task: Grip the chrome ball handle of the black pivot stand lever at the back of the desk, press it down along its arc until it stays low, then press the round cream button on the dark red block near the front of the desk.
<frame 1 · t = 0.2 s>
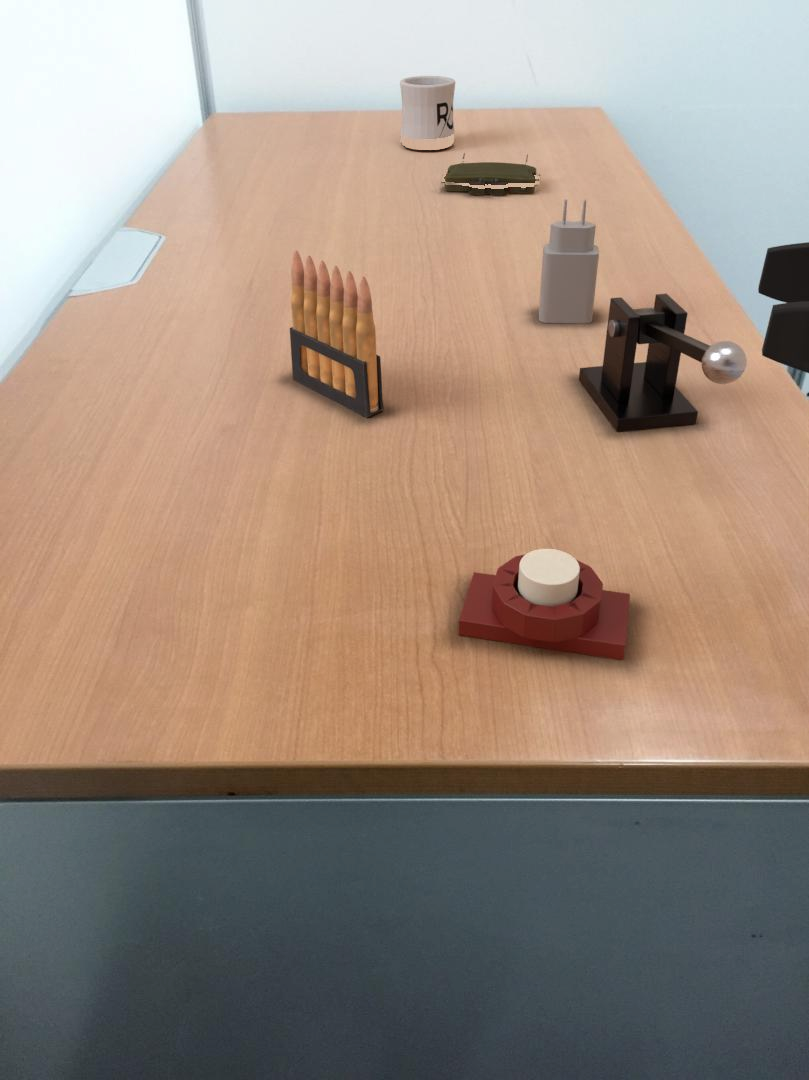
hand: (764, 298, 43), 23 cm above the table, tool horizontal, fingers open, 7 cm apart
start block: (544, 621, 60), on the table
landmine: (492, 183, 141), on the table
lever: (681, 342, 73), point 8 cm above the table, hinge at 12.0°
ammunition clip: (336, 396, 86), on the table
power adapter: (564, 319, 99), on the table
button: (548, 577, 58), point 3 cm above the table, slide at 0.1 cm
mug: (432, 145, 160), on the table
black pivot stand: (634, 401, 84), on the table
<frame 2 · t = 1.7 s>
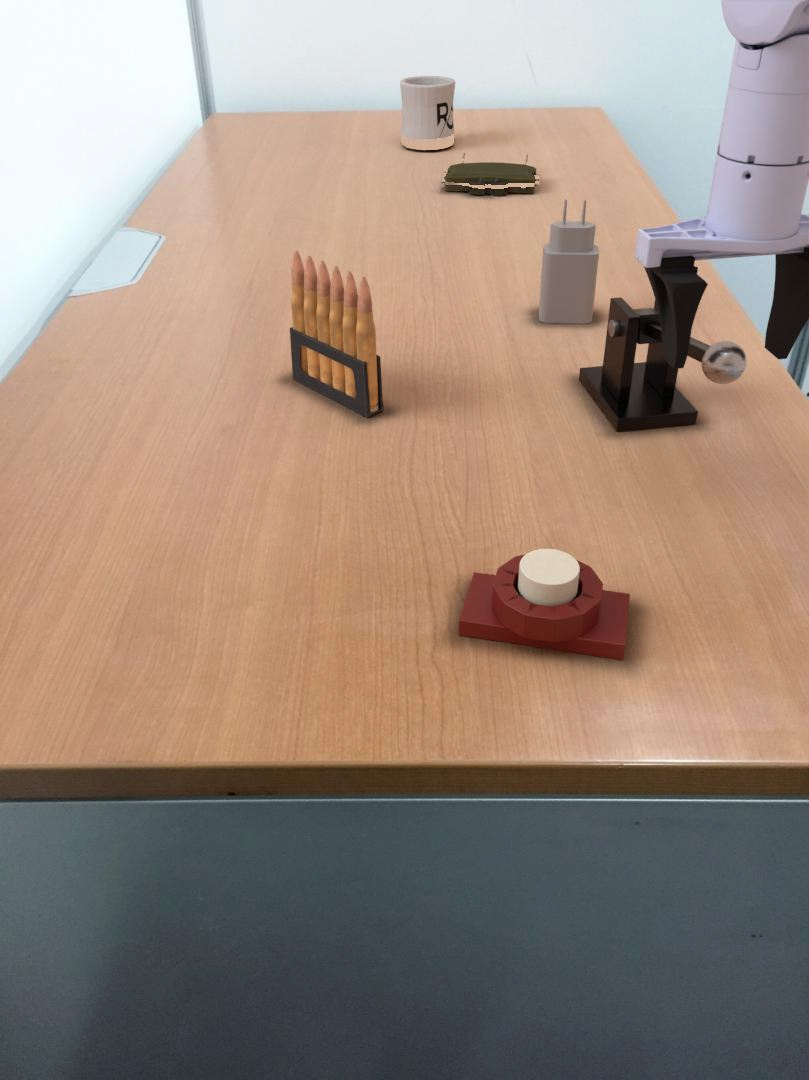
hand: (724, 357, 67), 10 cm above the table, tool pointing down, fingers open, 7 cm apart
nothing on the table moved.
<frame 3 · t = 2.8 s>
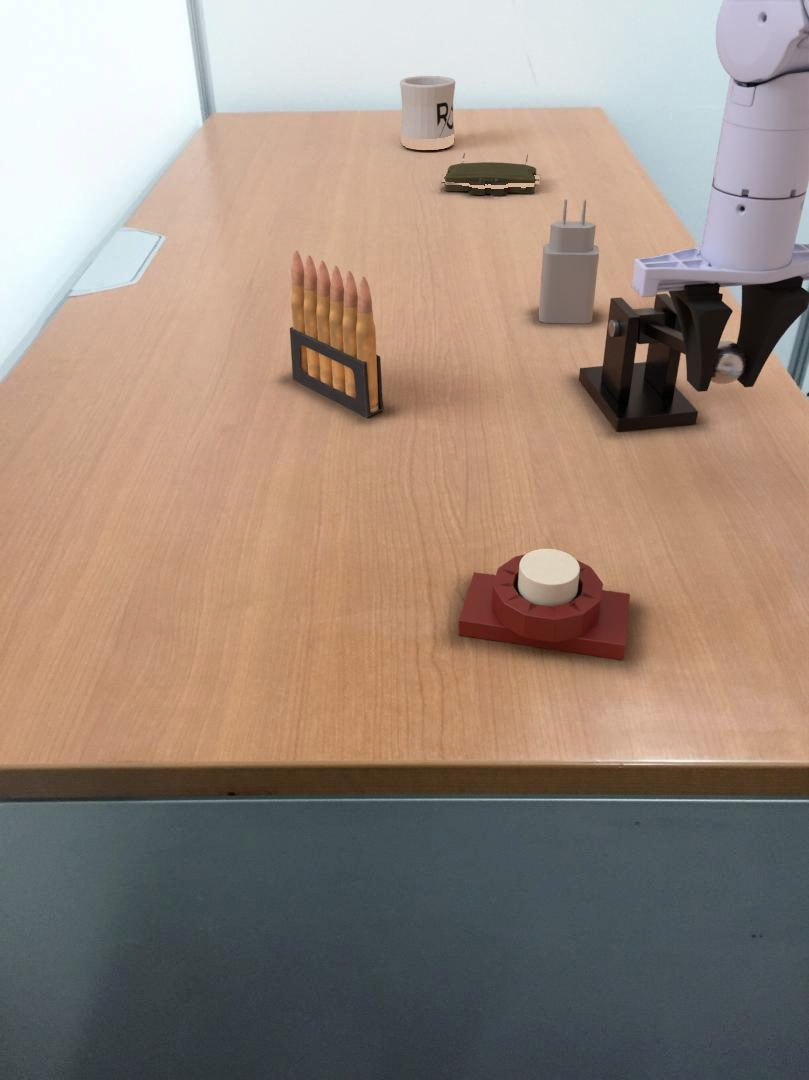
hand: (720, 383, 68), 8 cm above the table, tool pointing down, fingers closed on lever, 3 cm apart
lever: (681, 342, 73), point 8 cm above the table, hinge at 12.0°, touching gripper
everything else where it was.
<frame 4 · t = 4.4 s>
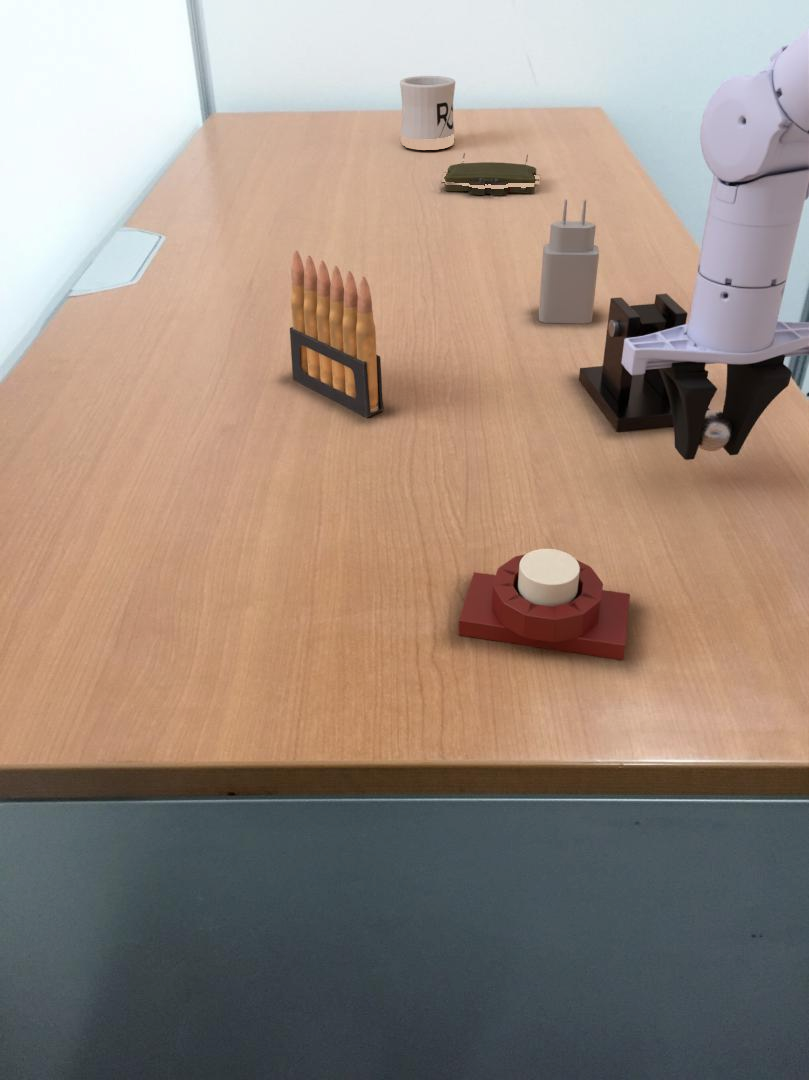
hand: (706, 450, 71), 3 cm above the table, tool pointing down, fingers closed on lever, 3 cm apart
lever: (676, 375, 75), point 6 cm above the table, hinge at -10.2°, touching gripper
everything else where it was.
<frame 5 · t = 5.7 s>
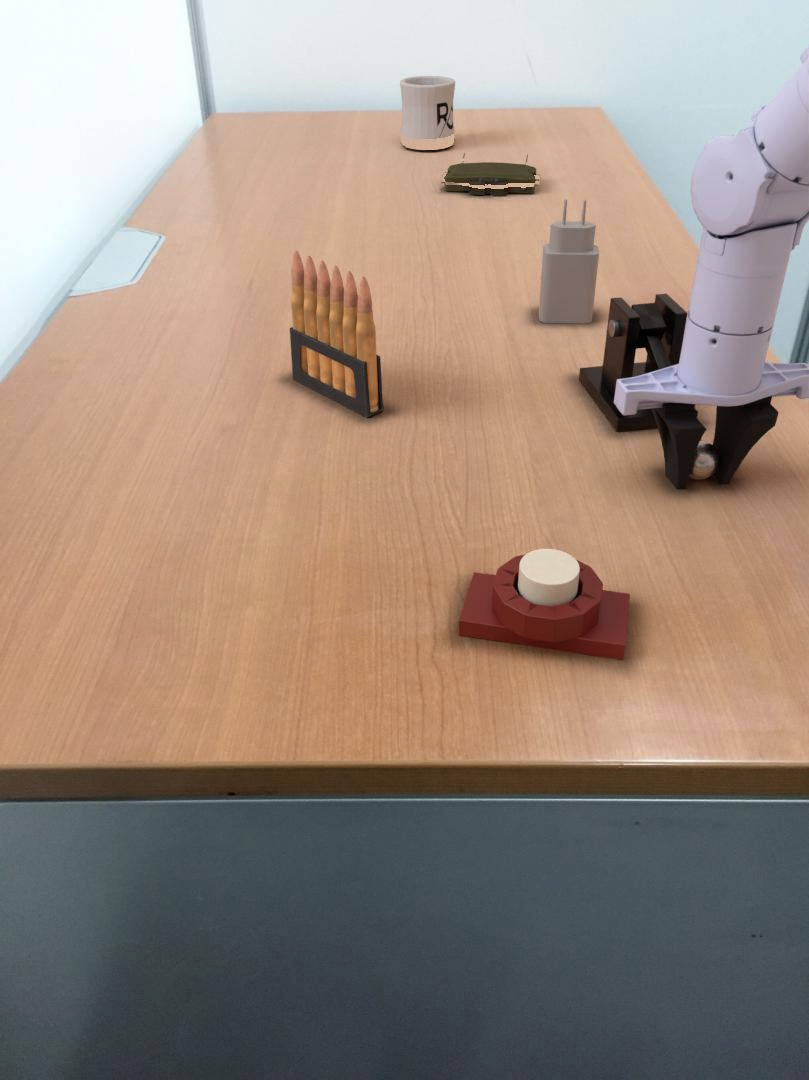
hand: (695, 484, 74), 0 cm above the table, tool pointing down, fingers closed on lever, 3 cm apart
lever: (671, 390, 76), point 4 cm above the table, hinge at -23.2°, touching gripper
everything else where it was.
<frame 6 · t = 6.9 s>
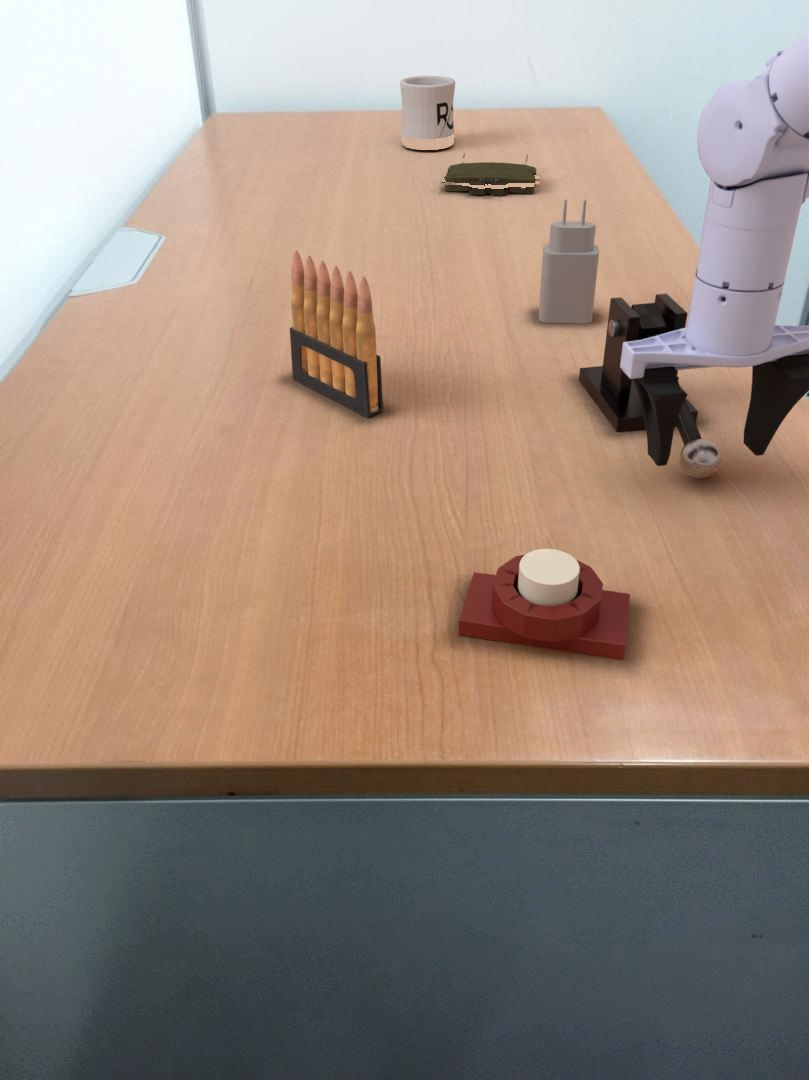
hand: (705, 454, 72), 2 cm above the table, tool pointing down, fingers open, 7 cm apart
lever: (671, 389, 76), point 4 cm above the table, hinge at -22.4°
everything else where it was.
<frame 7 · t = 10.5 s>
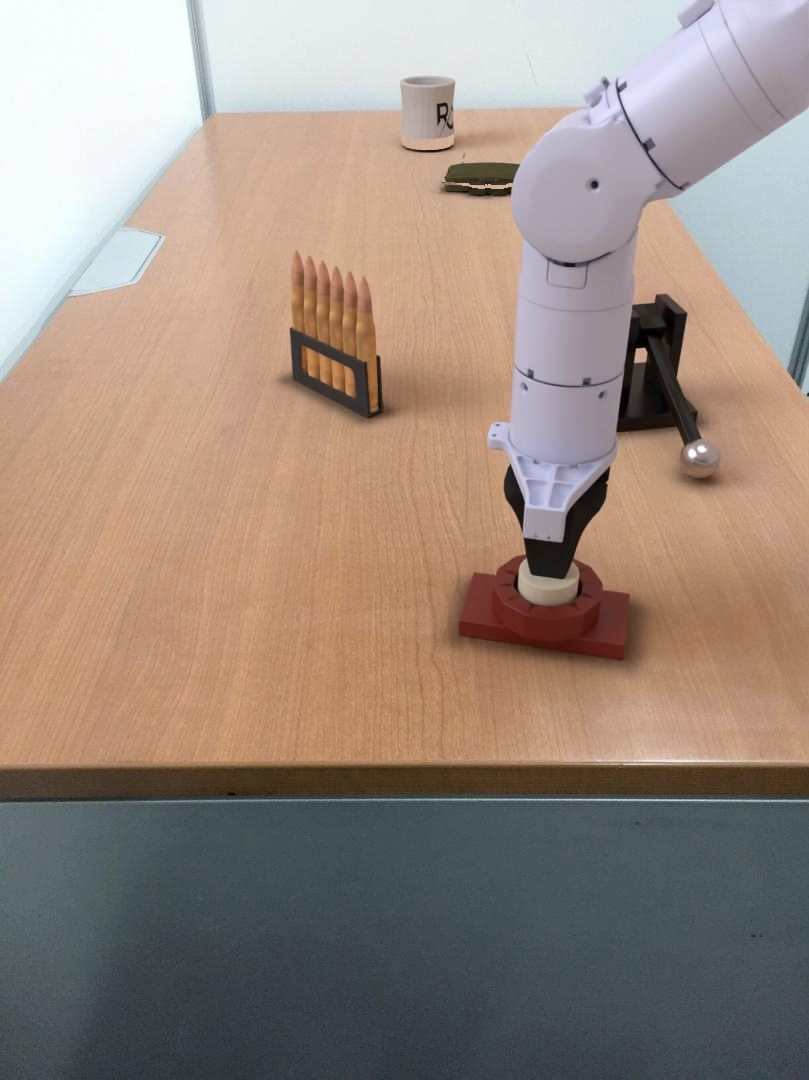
hand: (548, 570, 58), 4 cm above the table, tool pointing down, fingers closed, pressing on button
button: (548, 582, 58), point 3 cm above the table, slide at -0.2 cm, touching gripper
everything else where it was.
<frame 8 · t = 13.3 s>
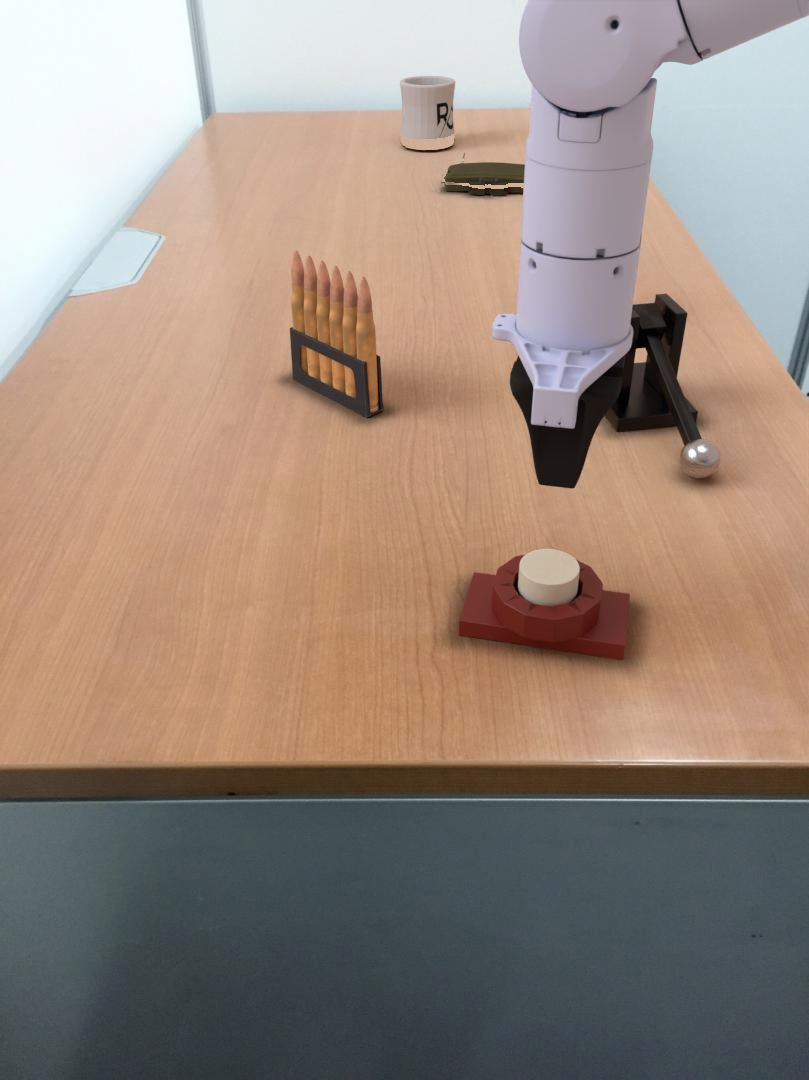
hand: (557, 480, 54), 10 cm above the table, tool pointing down, fingers closed
button: (548, 577, 58), point 3 cm above the table, slide at 0.1 cm
everything else where it was.
at the end: lever at -22° (first picture: +12°); button pushed in 1.2 cm at the most during the clip, back to where it started at the end; button slide at 0.1 cm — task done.
